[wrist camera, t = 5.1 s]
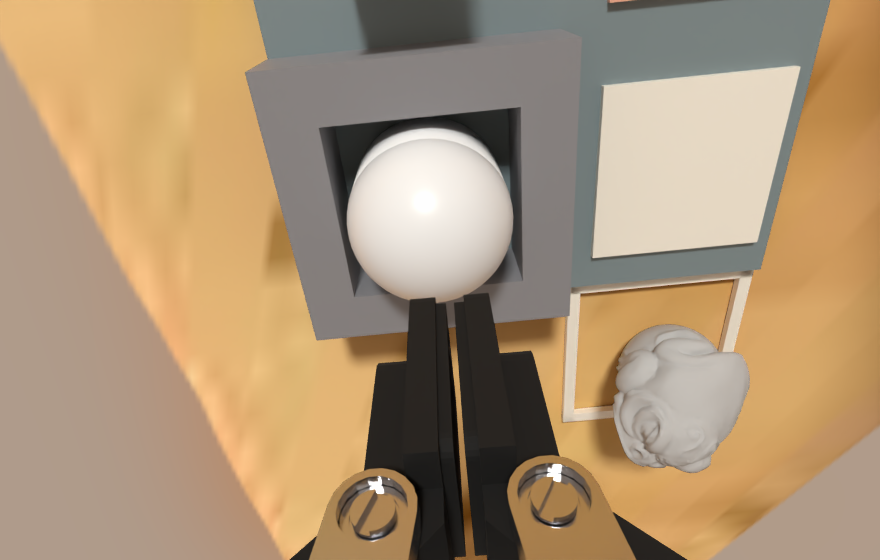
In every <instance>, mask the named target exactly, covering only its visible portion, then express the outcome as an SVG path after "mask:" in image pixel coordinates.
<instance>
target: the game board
mask: <svg viewBox="0 0 880 560" xmlns="http://www.w3.org/2000/svg"><path fill="white" fill-rule="evenodd" d="M829 3H830V0H254V4H255V9H256V13H257V17H258V21H259V25H260V29H261V33H262V37H263V41H264V46H265V50H266V54H267V58H268V59H267V60H265V61H264V62H262V63H260V64H258V65H257V66H255V67H253V68H252V69H250V70H248V71H247V72H245V74H246V78H247V82H248V86H249V89H250V93H251V97H252V101H253V104H254V108H255V112H256V116H257V119H258V123H259V127H260V131H261V134H262V138H263V142H264V145H265V149H266V153H267V157H268V160H269V164H270V168H271V172H272V175H273V179H274V183H275V187H276V190H277V194H278V198H279V201H280V205H281V209H282V213H283V216H284V220H285V224H286V228H287V231H288V235H289V239H290V243H291V246H292V250H293V254H294V258H295V261H296V265H297V269H298V272H299V276H300V280H301V284H302V287H303V291H304V295H305V299H306V302H307V306H308V310H309V314H310V317H311V321H312V325H313V328H314V332H315V336H316V340H326V339H337V338H347V337H357V336H368V335H378V334H389V333H399V332H408V321H409V302H410V300H406V299H403V298H400V297H398V296H396V295H393V294H392V293H390V292H388V291H386V290H385V289H383V288H382V287H381V286H379V285H378V284H377V283H376V282H374V281H373V280H372V279H371V278H370V277H369V276H368V275H367V273H366V272H365V271H364V270H363V268H362V267H361V265H360V263H359V262H358V260H357V258H356V257H355V254H354V252H353V250H352V247H351V244H350V240H349V236H348V230H347V208H348V202H349V197H350V194H351V191H352V187H353V184H354V181H355V178H356V174H357V171H358V168H359V165H360V162H361V159H362V157H363V155H364V153H365V152H366V150H367V149H368V147H369V146H370V144H371V143H372V142H373V141H374V140H375V139H376V138H377V137H378V136H379V135H380V134H381V133H383V132H384V131H385V130H387V129H388V128H390V127H392V126H394V125H396V124H398V123H400V122H403V121H406V120H409V119H414V118H419V117H437V118H444V119H448V120H452V121H454V122H457V123H460V124H462V125H463V126H465V127H467V128H469V129H470V130H472V131H473V132H474V133H476V134H477V135H478V136H479V137H480V138H481V139H482V140H483V141H484V142H485V143H486V145H487V146H488V147H489V148H490V150H491V152H492V154H493V155H494V157H495V159H496V162H497V164H498V167H499V169H500V172H501V174H502V176H503V179H504V181H505V184H506V186H507V189H508V191H509V194H510V199H511V203H512V207H513V231H512V236H511V241H510V244H509V247H508V250H507V252H506V255H505V257H504V259H503V261H502V263H501V264H500V266H499V267H498V268H497V270H496V271H495V272H494V273H493V275H492V276H491V277H490V278H489V279H488V280H487V281H486V282H485V283H483V284H482V285H481V286H480V287H478V288H477V289H476V290H474V291H472V292H471V293H469V294H478V293H489V297H490V302H491V308H492V314H493V319H494V323H503V322H514V321H524V320H534V319H545V318H555V317H565V343H564V368H563V393H562V420H563V422H572V421H583V420H594V419H605V418H614V412H613V405H611V406H600V407H590V408H579V409H574V399H575V381H576V364H577V346H578V328H579V310H580V294H581V293H592V292H602V291H612V290H623V289H633V288H643V287H654V286H664V285H674V284H685V283H695V282H705V281H716V280H726V279H735V280H734V284H733V288H732V293H731V297H730V301H729V306H728V310H727V314H726V318H725V323H724V327H723V331H722V336H721V340H720V344H719V349H718V352H733V351H734V347H735V343H736V339H737V335H738V331H739V327H740V323H741V319H742V315H743V311H744V307H745V303H746V299H747V295H748V291H749V287H750V283H751V279H752V275H753V271H754V270H758V269H761V265H762V261H763V257H764V254H765V250H766V246H767V242H768V238H769V234H770V231H771V227H772V223H773V219H774V215H775V211H776V207H777V204H778V200H779V196H780V192H781V188H782V184H783V181H784V177H785V173H786V169H787V165H788V161H789V157H790V154H791V150H792V146H793V142H794V138H795V134H796V130H797V127H798V123H799V119H800V115H801V111H802V107H803V104H804V100H805V96H806V92H807V88H808V84H809V80H810V77H811V73H812V69H813V65H814V61H815V57H816V53H817V50H818V46H819V42H820V38H821V34H822V30H823V27H824V23H825V19H826V15H827V11H828V7H829ZM454 302H464V299H463V296H462V297H460V298H457V299H454V300H450V301H446V302H439V303H436V304H440V303H446V309H447V319H448V328H451V327H456V325H455V311H454Z"/></svg>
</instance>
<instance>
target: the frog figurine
mask: <svg viewBox="0 0 880 560" xmlns="http://www.w3.org/2000/svg"><path fill="white" fill-rule="evenodd" d="M618 362H619V365H618V366H616V368H617V370H618V374H617V376H616V387H617V389H618V390H619V391H620V392H618V393H617V394H615V395H614V401H615V403H614V404H613V412H614V422H615V425H616V429H617V432H618V435H619V438H620V441H621V444H622V447H623V449H624V452H625V453H626V455H627V457H628V458H629V459H630V460H631V461H632V462H634V463H635V464H638V465H640V466H649V467H653V468H664V467H666V466H672V467H675V468H676V469H679V470H681V471H684V472H688V473H697V472H699V471H701V470H704V469H706V468H707V467H709V466H710V462H711V455H712V454H713V453H714V452H715V450H716V449H717V447H718V446H719V443H721V442H722V441H723V440H724V439H725V438H726V437H727V436H728V435H729V433H730V432H731V430H732V429H733V427H734V425H735V423H736V420H737V419H738V415H739V413H740V412H741V408H742V405H743V401H744V400H745V397H746V395H747V392H748V389H749V383H750V376H749V371H748V367H747V364H746V362H745V360H744V358H743V356H742V355H741V354H739V353H735V352H718V350H717V349H716V347H715V346H714V345H713V344H712V343H711V342H710V341H709V340H708V339H707V338H706V337H704V336H703V335H701V334H700V333H698V332H696V331H695V330H692V329H690V328H687V327H684V326H679V325H671V324H666V325H657V326H653V327H650V328H647V329H645V330H643V331H641V332H640V333H638V334H637V335H635V336H634V337H633V338H632V339H631V340H630V341H629V342H628V344H627V345H626V346H625V348H624V350H623V352H622V354H621V357H620V358H619V359H618Z"/></svg>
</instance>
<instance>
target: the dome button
mask: <svg viewBox="0 0 880 560" xmlns="http://www.w3.org/2000/svg"><path fill="white" fill-rule="evenodd" d="M347 230H348V236H349V240H350V244H351V247H352V250H353V252H354V254H355V257H356V258H357V260H358V262H359V263H360V265H361V267H362V268H363V270H364V271H365V272H366V273H367V275H368V276H369V277H370V278H371V279H372V280H373V281H374V282H376V283H377V284H378V285H379V286H381V287H382V288H383V289H385V290H386V291H388V292H390V293H392V294H393V295H396V296H398V297H400V298H403V299H406V300H410V299H420V298H431V297H435V298H436V303H439V302H446V301H450V300H454V299H457V298H460V297H462V296H463V295H466V294H469V293H471V292H472V291H474V290H476V289H477V288H478V287H480V286H481V285H482V284H483V283H485V282H486V281H487V280H488V279H489V278H490V277H491V276H492V275H493V273H494V272H495V271H496V270H497V268H498V267H499V266H500V264H501V263H502V261H503V259H504V257H505V255H506V252H507V250H508V247H509V244H510V241H511V236H512V231H513V207H512V203H511V199H510V194H509V191H508V189H507V186H506V184H505V181H504V179H503V176H502V174H501V172H500V169H499V167H498V164H497V162H496V159H495V157H494V155H493V154H492V152H491V150H490V148H489V147H488V146H487V145H486V143H485V142H484V141H483V140H482V139H481V138H480V137H479V136H478V135H477V134H476V133H474V132H473V131H472V130H470V129H469V128H467V127H465V126H463V125H462V124H460V123H457V122H454V121H452V120H448V119H444V118H437V117H419V118H414V119H409V120H406V121H403V122H400V123H398V124H396V125H394V126H392V127H390V128H388V129H387V130H385V131H384V132H383V133H381V134H380V135H379V136H378V137H377V138H376V139H375V140H374V141H373V142H372V143H371V144H370V146H369V147H368V149H367V150H366V152H365V153H364V155H363V157H362V159H361V162H360V165H359V168H358V171H357V174H356V178H355V181H354V184H353V187H352V191H351V194H350V197H349V202H348V208H347Z"/></svg>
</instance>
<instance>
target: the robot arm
mask: <svg viewBox="0 0 880 560" xmlns="http://www.w3.org/2000/svg"><path fill="white" fill-rule="evenodd" d="M463 299H464V302H454V311H455V325H456V338H457V351H458V365H459V378H460V391H461V405H462V418H463V432H464V444H465V456H466V466H467V476H468V487H469V497H470V507H471V517H472V528H473V538H474V548H475V556H479V555H487V560H687V559H685V558H684V557H682V556H681V555H679V554H677V553H676V552H674V551H673V550H671V549H670V548H668V547H667V546H665V545H663V544H662V543H660V542H659V541H657V540H656V539H654V538H653V537H651V536H649V535H648V534H646V533H645V532H643V531H642V530H640V529H639V528H637V527H635V526H634V525H632V524H631V523H629V522H628V521H626V520H625V519H623V518H621V517H620V516H618V515H617V514H615V513H614V512H612V510H611V508H610V506H609V504H608V502H607V500H606V498H605V496H604V494H603V492H602V490H601V488H600V486H599V484H598V483H597V481H596V480H595V478H594V477H593V476H592V474H591V473H590V472H589V471H588V470H586V469H585V468H584V467H583V466H582V465H580V464H579V463H577V462H574V461H572V460H570V459H568V458H565V457H560V456H559V453H558V449H557V445H556V441H555V437H554V433H553V430H552V426H551V422H550V418H549V414H548V410H547V406H546V403H545V399H544V395H543V391H542V387H541V383H540V380H539V376H538V372H537V368H536V364H535V360H534V357H533V354H532V352H531V351H523V352H511V353H499V347H498V342H497V336H496V330H495V325H494V319H493V314H492V308H491V302H490V297H489V293H478V294H466V295H463ZM465 556H466V551H465V535H464V519H463V503H462V487H461V472H460V456H459V440H458V424H457V409H456V397H455V387H454V377H453V367H452V358H451V348H450V338H449V329H448V319H447V309H446V303H440V304H436V298H435V297H431V298H420V299H410V302H409V321H408V341H407V361H402V362H390V363H378V365H377V369H376V376H375V384H374V393H373V401H372V409H371V417H370V426H369V434H368V442H367V450H366V459H365V467H364V471H362V472H359V473H357V474H355V475H353V476H351V477H350V478H348V479H347V480H345V481H344V482H343V483H342V484H341V485H340V486H339V487H338V488H337V489H336V491H335V492H334V493H333V495H332V497H331V499H330V501H329V503H328V505H327V508H326V511H325V514H324V517H323V520H322V523H321V526H320V529H319V532H318V535H317V536H316V537H315V538H314V539H313V540H312V541H310V542H309V543H308V544H307V545H306V546H305V547H304V548H302V549H301V550H300V551H299V552H298V553H297V554H296V555H294V556H293V557H292V558H291V559H290V560H455V557H465Z"/></svg>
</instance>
